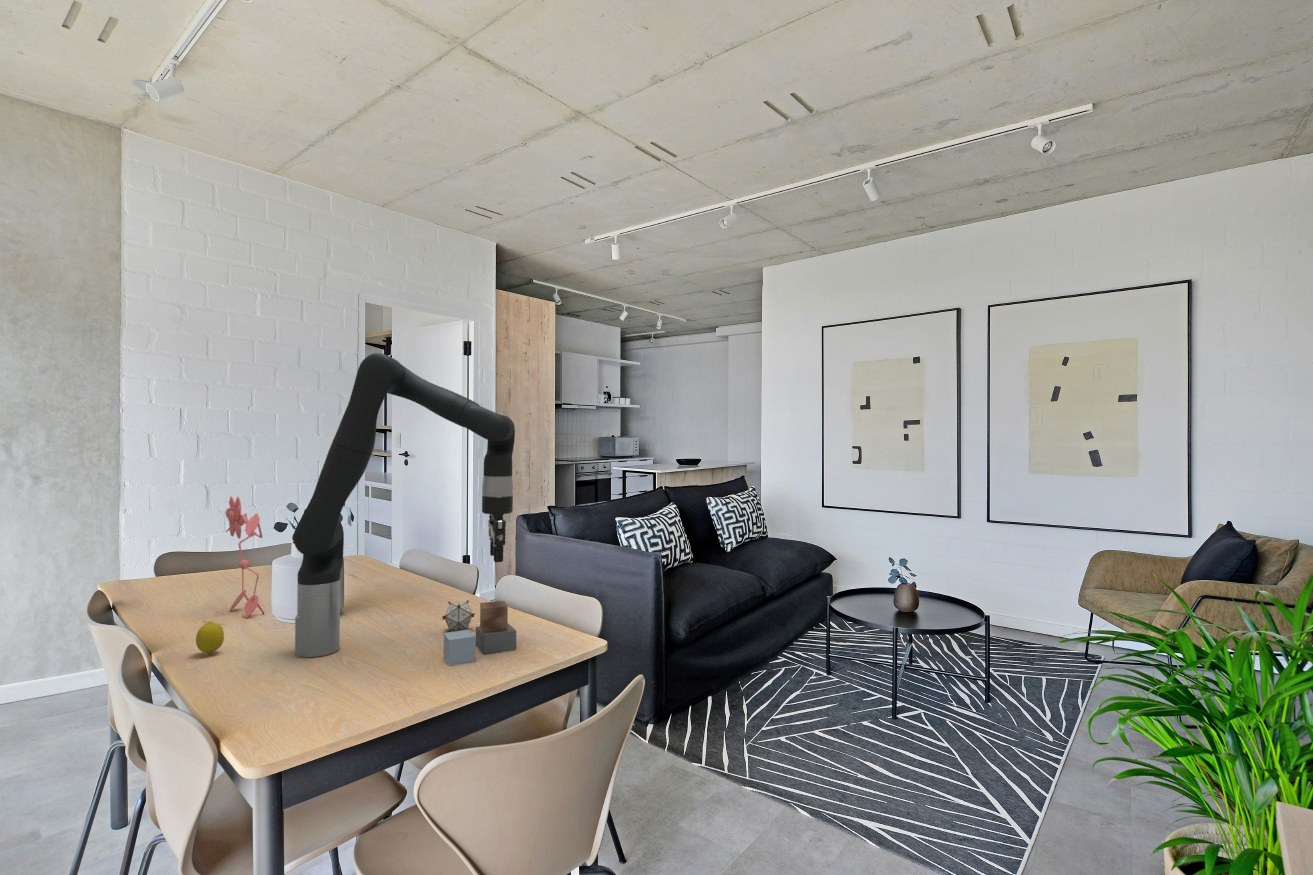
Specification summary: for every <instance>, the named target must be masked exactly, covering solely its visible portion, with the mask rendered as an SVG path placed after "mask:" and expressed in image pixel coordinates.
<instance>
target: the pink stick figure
mask: <svg viewBox="0 0 1313 875" xmlns="http://www.w3.org/2000/svg"><path fill="white" fill-rule="evenodd" d="M228 505H229V507H228V508H226V510H225V516H226V518H227V520H228V525H229V527H228V528H227V530H226V531H225V532H226V533H228V532H229V534H230V536H231V537H234V536H235V535H236V538H237V539H239V540H240V539H241V537H242V526H244V525H245V529H244V532H245V533H246V534H245V535H247V536H246V537H245V538H244V539H241V540H240V541H239V543H238V544H237V545H238V549H239V554H240V559H241V560H240V561H239V562H238V567H239V568H240V569H241V581H242V582H241V590H242V591H241V593H240V594H239V595H238V596H237V598H236V599H235V600H234V601H233V602H232V604H231V606H230V608H229V609H230V611H232V610H233V609H234V608H236V606H237V605H238V604H239V603H240V602H241V601H242V599H243V598H245V600H246V603H245V604H244V616H245V619H248V618H249V617H250V616H251V615H252V614H253V613H254V612H255V610H256V609H257V607H258V609H259V610H260V612H261V614H263V613H265V611H264V610H263V608H262V607H261V605H260V603H259V596H258V595H257V594H256V592H257V591H256V590H257V585H258V581H259V576H260V575H259V573H257V572H255V571H254V570H252V569H251V568H249V566H250V561H249V560H247V559H244V557H243V551H242V545H241V544H242V543H243V542H245V541H246V540H248V539H250V538H252V537H253V536H256V537H258V538H260V539H263V533H262V528H261V525H260V520H261V519H260V516H259V514H258V513H254V515H252V516H251V517H250V518H248V513H244V514H242V503H241V498H240V497H239V496H237V497H236V499H234V497H233V496H230V497H229V501H228ZM257 528H258V533H259V534H258V533H257V531H256V529H257ZM245 569H247V571H250V572H251V573H253V574H255V575H256V580H255V584H254V589H253V595H252V596H250V598H249V597H248V596H247V594H246V593H247V589H245V590H244V572H245V571H244V570H245ZM247 617H248V618H247Z"/></svg>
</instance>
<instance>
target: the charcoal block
mask: <svg viewBox="0 0 1313 875" xmlns="http://www.w3.org/2000/svg"><path fill="white" fill-rule="evenodd" d="M475 648H477V649H478V650H479V651H480V652H481V654H483V656H486V655H491V654H497V653H505V652H510V651H516V650H517V630H516V629H515V628H514V627H513V626H512V625H510V623H508V622H507V631H502V632H492V633H482V630H481V627H480V625H479V626H475Z"/></svg>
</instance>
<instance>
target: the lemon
mask: <svg viewBox="0 0 1313 875" xmlns="http://www.w3.org/2000/svg"><path fill="white" fill-rule="evenodd" d="M224 639H225V632H224V628H223V627H222V626H221V625H220V623H217V622H215V621H214V622H213V620H210V621H208V622H207V623H206V622H205V624H203V625H202V626H201V627H199V629H198V631H197V633H196V636H195V644H196V647H197V649H198V650H199V651H201V652H203V653H206V654H207V655H208V656H209V655H212V654H213V653H214V652H215V651H218V649H220V647H222V645H223V643H224Z"/></svg>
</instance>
